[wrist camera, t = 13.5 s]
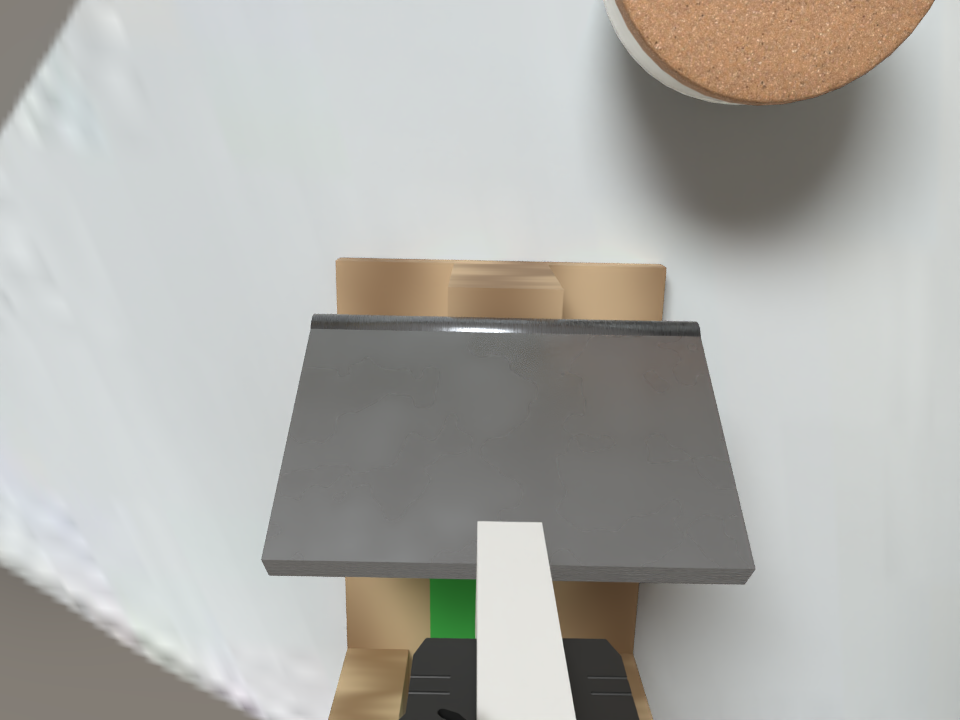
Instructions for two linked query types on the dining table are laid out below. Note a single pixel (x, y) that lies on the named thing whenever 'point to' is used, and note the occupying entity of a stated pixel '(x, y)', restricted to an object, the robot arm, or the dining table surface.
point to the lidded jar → (761, 44)
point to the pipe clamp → (452, 608)
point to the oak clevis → (406, 601)
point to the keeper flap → (506, 450)
